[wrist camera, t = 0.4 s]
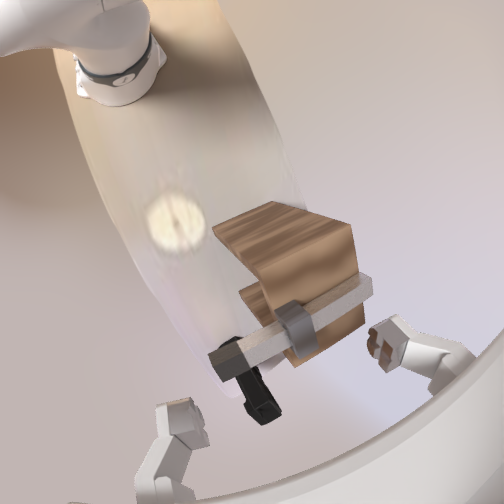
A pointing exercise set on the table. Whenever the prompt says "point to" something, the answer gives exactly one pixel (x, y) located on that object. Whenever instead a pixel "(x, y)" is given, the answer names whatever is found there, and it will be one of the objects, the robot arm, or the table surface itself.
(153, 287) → the table surface
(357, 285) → the steel pull bar
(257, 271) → the walnut shelf stand
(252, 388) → the portable radio
